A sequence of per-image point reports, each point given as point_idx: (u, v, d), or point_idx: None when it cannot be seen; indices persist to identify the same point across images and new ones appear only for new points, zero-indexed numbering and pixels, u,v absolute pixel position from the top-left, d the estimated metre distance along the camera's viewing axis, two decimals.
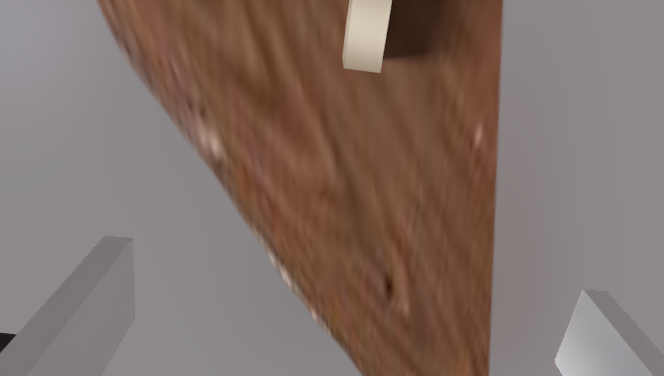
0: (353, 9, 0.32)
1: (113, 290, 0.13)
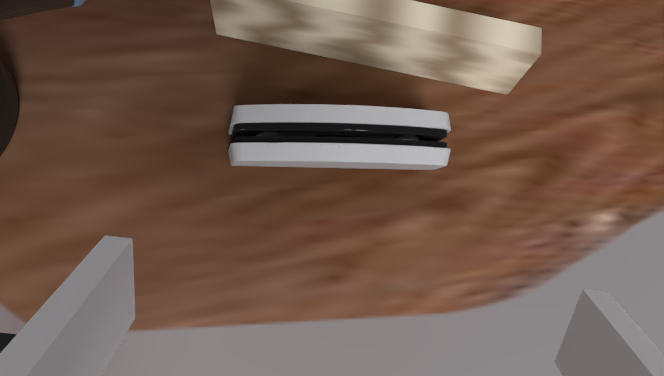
0: (493, 42, 0.38)
1: (113, 290, 0.13)
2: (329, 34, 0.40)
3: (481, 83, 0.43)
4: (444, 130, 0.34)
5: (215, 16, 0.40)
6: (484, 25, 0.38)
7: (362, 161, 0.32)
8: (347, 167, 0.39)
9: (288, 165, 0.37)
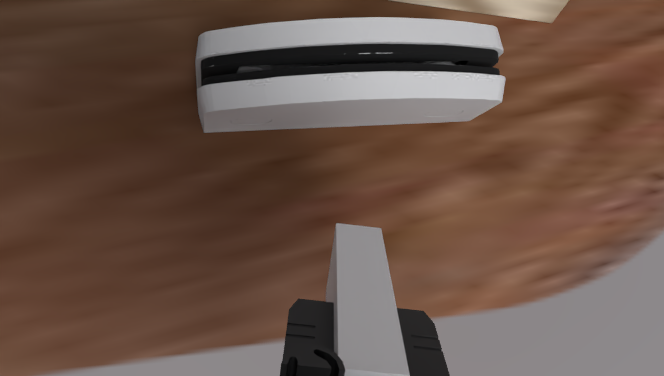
0: None
1: None
2: None
3: (519, 9, 0.33)
4: (495, 51, 0.24)
5: None
6: None
7: (389, 97, 0.22)
8: (360, 123, 0.29)
9: (281, 123, 0.27)
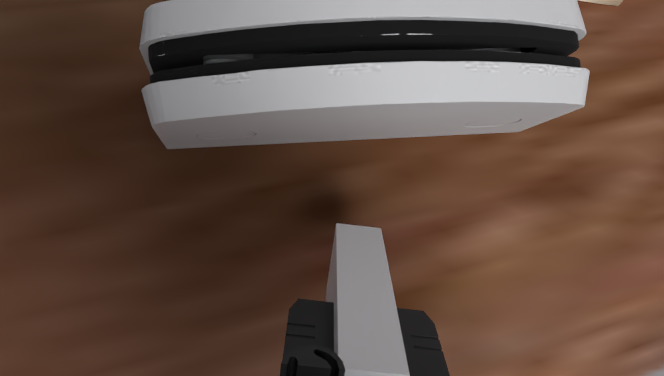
0: None
1: None
2: None
3: None
4: (576, 34, 0.17)
5: None
6: None
7: (427, 100, 0.14)
8: (376, 135, 0.21)
9: (269, 137, 0.20)
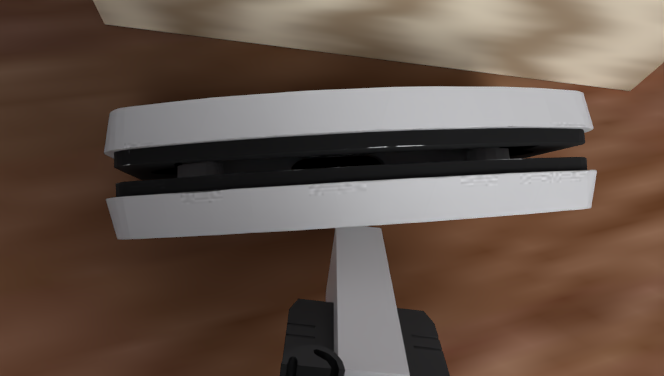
0: None
1: None
2: (309, 4, 0.21)
3: (587, 74, 0.24)
4: (582, 131, 0.15)
5: None
6: None
7: (418, 220, 0.13)
8: None
9: None
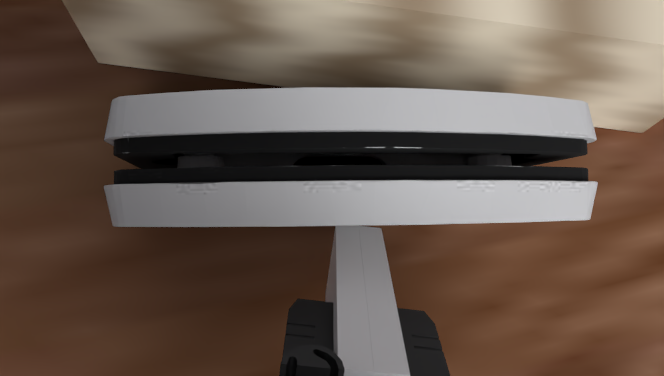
0: (652, 41, 0.18)
1: None
2: (310, 48, 0.20)
3: (598, 117, 0.23)
4: (585, 142, 0.15)
5: (82, 28, 0.20)
6: (625, 6, 0.19)
7: (412, 222, 0.13)
8: None
9: None
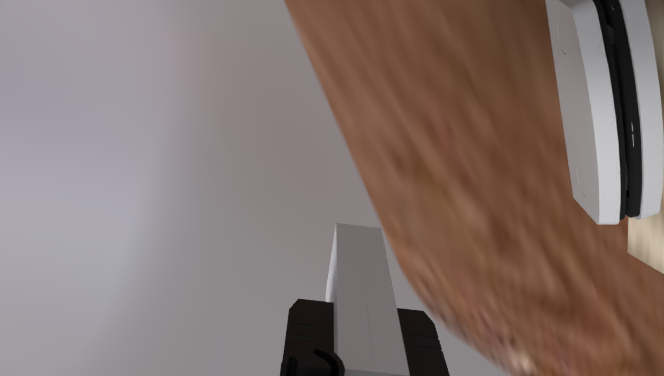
0: None
1: None
2: None
3: (635, 228, 0.40)
4: (637, 215, 0.33)
5: None
6: None
7: (597, 149, 0.30)
8: (565, 117, 0.36)
9: (560, 58, 0.34)
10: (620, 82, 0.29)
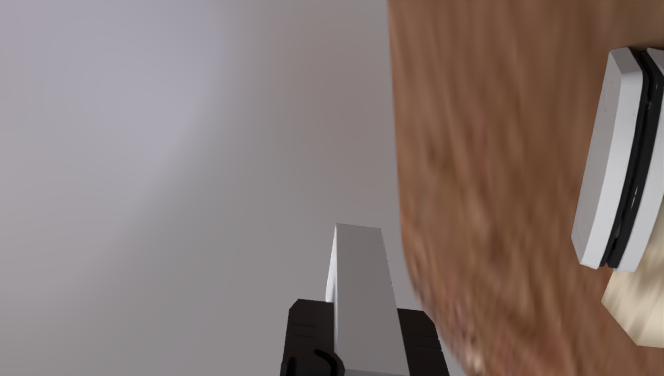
0: (655, 307, 0.40)
1: None
2: None
3: (615, 282, 0.45)
4: (616, 267, 0.37)
5: None
6: None
7: (600, 200, 0.34)
8: (588, 166, 0.40)
9: (601, 114, 0.37)
10: (641, 150, 0.33)
